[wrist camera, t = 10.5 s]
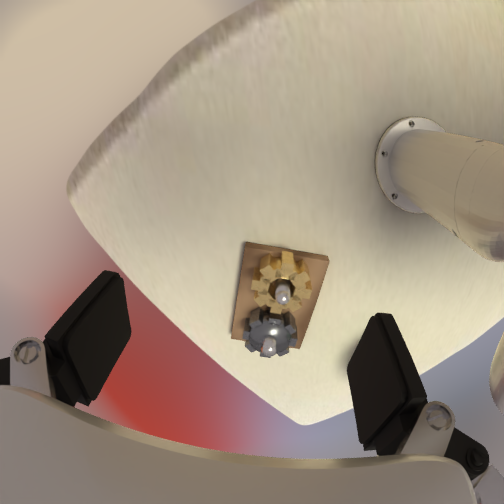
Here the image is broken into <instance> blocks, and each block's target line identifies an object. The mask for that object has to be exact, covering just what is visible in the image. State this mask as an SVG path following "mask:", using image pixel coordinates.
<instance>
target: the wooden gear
mask: <svg viewBox="0 0 504 504" xmlns="http://www.w3.org/2000/svg"><path fill="white" fill-rule="evenodd" d="M278 278H282V279H288V280H290V281H291V282H292V283H291V284H290V301H289V302H288V303H287V304H284V305H281V304H279V303H278V302H277V301H276V299H275V288H276V286H274V285H273V284H272V282H273V281H275V280H276V279H278ZM251 290H255V293H254V300H255V302H256V303H257V304H258V305H259V306H260V307H261V306H263V305H265V304H266V305H267V306H269V307H270V312H271V313H277V314H281V312H282V309H287V308H290V310H291V311H292V312H294V311H296V310H298V309H300V308H302V303H301V301H302V298H305V299H310V296H311V292H312V286H311V279H310V273H309V268H308V266H307V264H306V263H305V261H304V260H303V259H301V260H299V261H298V262H296V260H295V259H294V258H293V253H292V252H287V251H282V253H281V257H278V256H277V257H275V258H274V257H273V256H272V255H271V253H269V254H267V255H265V256H264V257H262V258H261V262H260V268H257V267H254V273H253V279H252V285H251Z"/></svg>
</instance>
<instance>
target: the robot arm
mask: <svg viewBox="0 0 504 504" xmlns="http://www.w3.org/2000/svg"><path fill="white" fill-rule="evenodd" d="M409 122H410V125H409ZM382 151H383V152H384V154H383V155H382ZM375 167H376V175H377V179H378V182H379V185H380V187H381V189H382V191H383V192H384V194H385V195H386V197H387V198H388V199H389V200H390V201H391V202H392V203H393V204H395V205H396V206H397V207H399V208H400V209H402V210H404V211H407V212H411V213H425V212H426V213H427V214H429V215H430V216H431V217H433V218H434V219H435V220H437V221H438V222H439V223H441V224H442V225H443V226H444V227H446V228H447V229H448V230H449V231H451V232H452V233H453V234H454V235H456V236H457V237H458V238H459V239H461V240H462V241H463V242H464V243H465V244H467V245H468V246H469V247H470V248H472V249H473V250H474V251H475V252H476V253H478V254H479V255H481V256H482V257H484V258H486V259H488V260H492V261H496V262H504V145H503V144H499V143H495V142H491V141H486V140H482V139H477V138H472V137H467V136H462V135H456V134H451V133H447V132H446V131H445V130H444V129H443V128H442V127H441V126H440V125H439V124H437V123H436V122H434V121H432V120H430V119H427V118H423V117H408V118H404V119H401V120H399V121H397V122H395V123H394V124H393V125H392V126H390V127H389V128H388V129H387V131H386V132H385V133H384V135H383V136H382V138H381V140H380V142H379V144H378V148H377V152H376V159H375ZM393 193H394V195H393V196H392V194H393ZM130 336H131V327H130V321H129V315H128V309H127V302H126V295H125V288H124V281H123V278H121V277H120V275H119V273H116V272H112V271H106V270H105V271H103V272H102V273H101V274H100V275H99V276H98V277H97V278H96V279H95V280H94V281H93V282H92V283H91V284H90V285H89V287H87V289H86V290H85V291H84V292H83V293H82V294H81V295H80V296H79V297H78V298H77V299H76V300H75V302H74V303H73V304H72V305H71V306H70V307H69V308H68V309H67V311H66V312H65V313H64V314H63V315H62V317H60V319H59V320H58V321H57V322H56V323H55V324H54V326H53V327H52V328H51V329H50V330H49V331H48V333H47V334H46V335H45V340H44V341H43V342H42V341H41V340H39V339H38V338H34V337H27V338H24V339H21V340H20V341H18V342H17V343H16V344H15V345H14V346H13V348H12V350H11V354H10V357H8V358H4V359H0V504H504V478H503V476H502V475H501V474H500V473H499V472H498V470H497V469H496V468H495V467H494V466H493V465H490V466H488V465H489V455H488V452H487V450H486V448H485V447H484V446H483V445H481V444H480V443H478V442H477V441H475V440H473V439H472V438H470V437H469V436H467V435H465V434H464V433H462V432H461V431H459V430H458V429H456V428H455V427H454V426H455V416H454V414H453V412H452V410H451V409H450V408H449V407H448V406H447V405H446V404H444V403H442V402H439V401H432V402H429V403H428V401H427V399H426V398H427V395H426V392H425V389H424V387H423V384H422V382H421V379H420V377H419V374H418V372H417V369H416V367H415V364H414V362H413V360H412V357H411V355H410V353H409V350H408V348H407V346H406V344H405V341H404V339H403V337H402V335H401V332H400V330H399V328H398V326H397V324H396V322H395V320H394V318H393V316H392V314H387V313H376V314H375V316H372V317H371V318H370V320H369V322H368V324H367V326H366V329H365V331H364V333H363V335H362V337H361V339H360V341H359V344H358V346H357V348H356V350H355V352H354V354H353V356H352V358H351V360H350V362H349V364H348V367H347V375H348V380H349V385H350V390H351V395H352V401H353V407H354V412H355V418H356V424H357V430H358V437H359V442H360V443H361V444H363V447H364V451H367V450H376V452H377V456H376V457H364V458H344V459H291V458H274V457H262V456H253V455H244V454H236V453H229V452H223V451H217V450H211V449H205V448H200V447H196V446H191V445H187V444H182V443H177V442H174V441H170V440H166V439H162V438H158V437H155V436H151V435H148V434H145V433H141V432H138V431H135V430H132V429H129V428H126V427H123V426H120V425H117V424H115V423H112V422H109V421H106V420H104V419H101V418H98V417H96V416H94V415H91V414H89V413H86V412H84V411H81V410H79V409H77V408H75V407H74V406H75V404H76V402H79V403H82V404H84V405H86V406H89V404H90V403H91V401H92V400H93V401H94V400H95V399H96V398H97V396H98V395H99V393H100V391H101V389H102V387H103V385H104V383H105V382H106V380H107V378H108V376H109V374H110V372H111V371H112V369H113V367H114V365H115V363H116V362H117V360H118V358H119V356H120V355H121V353H122V351H123V349H124V348H125V346H126V344H127V342H128V341H129V339H130ZM489 380H490V381H489V383H490V391H491V395H492V398H493V400H494V403H495V404H496V406H497V408H498V409H499V410H500V412H501V413H502V414H503V415H504V332H503V335H502V337H501V340H500V342H499V344H498V347H497V349H496V352H495V355H494V357H493V361H492V364H491V369H490V379H489Z"/></svg>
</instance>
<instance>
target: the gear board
mask: <svg viewBox="0 0 504 504" xmlns="http://www.w3.org/2000/svg"><path fill="white" fill-rule="evenodd" d="M282 251H287V252H292V253H293V258H294V259H295V260H296V262H298V261H299V260H301V259H303V260H304V261H305V263H306V264H307V266H308V268H309V273H310V279H311V286H312V292H311V296H310V299H305V298H302V301H301V303H302V308H300V309H298V310H296V311H294V312H292V311H291V310H290V308H287V309H282V313H284V314H285V313H287V312H288V311H290V312H291V313H292V315H293V316H294V317H295V321H296V325H297V337H298V340H297V342H296V345H295V347H292V346H289V348H297V349H300V347H301V344H302V341H303V339H304V336H305V333H306V330H307V328H308V325H309V322H310V319H311V316H312V313H313V310H314V308H315V305H316V302H317V299H318V296H319V293H320V290H321V286H322V283H323V280H324V277H325V274H326V271H327V267H328V264H329V259H328V256H324V255H318V254H313V253H307V252H301V251H296V250H290V249H284V248H279V247H273V246H267V245H261V244H255V243H250V242H246V245H245V250H244V256H243V263H242V269H241V276H240V282H239V289H238V295H237V302H236V308H235V315H234V321H233V328H232V335H231V339H236V340H242V341H246V340H245V339H242V338H243V331H244V325H245V320H246V318H250V315H251V311H252V310H254V309H256V308H258V307H260V306H259V305H258V304H257V303H256V302H255V300H254V293H255V290H251V285H252V279H253V273H254V267H257V268H260V262H261V258H262V257H264V256H265V255H267V254H269V253H271V255H272V256H273V257H274V258H275V257H277V256H278V257H281V253H282ZM291 283H292V282H291V281H290V284H291ZM272 284H273V285H274V286H276V280H275V281H273V282H272ZM261 308H262V309H263V310H269V306H267V305H266V304H265V305H263V306H261Z"/></svg>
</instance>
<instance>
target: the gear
mask: <svg viewBox="0 0 504 504" xmlns="http://www.w3.org/2000/svg"><path fill="white" fill-rule="evenodd" d="M242 339H245V340H246V342H245V347H246V348H247V349H248V350H249V351H250V352H254V351H256V350H257V351H259V352H260V356H261V357H268V358H270V357H271V356H273V355H275V354H276V353H277V354H278V355H279V356H282V355H285V354H287V353H289V346H292V347H295V345H296V342H297V340H298V337H297V325H296V321H295V317H294V316H293V315H292V313H291V312H290V311H288V312H287V313H285V314H284V313H282V312H281V314H277V313H271V312H270V307H269V310H263V309H262V308H261V307H258V308H256V309H254V310H252V311H251V315H250V318H246V320H245V325H244V331H243V338H242Z"/></svg>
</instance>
